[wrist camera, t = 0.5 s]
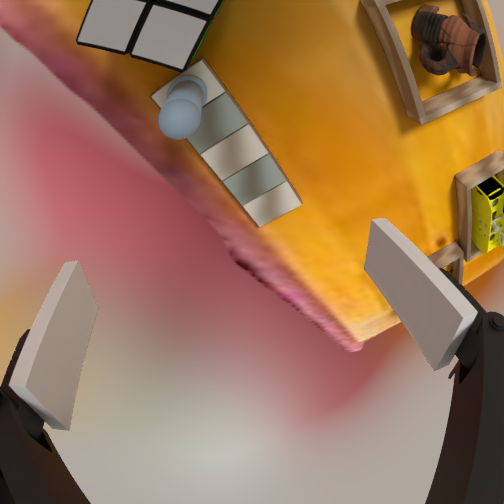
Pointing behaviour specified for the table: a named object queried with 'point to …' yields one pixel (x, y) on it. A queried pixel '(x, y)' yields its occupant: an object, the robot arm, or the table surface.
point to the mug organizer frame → (404, 76)
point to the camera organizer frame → (464, 182)
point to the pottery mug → (448, 41)
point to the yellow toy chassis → (488, 214)
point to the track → (236, 150)
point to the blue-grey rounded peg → (183, 107)
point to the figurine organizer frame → (450, 259)
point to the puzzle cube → (149, 28)
